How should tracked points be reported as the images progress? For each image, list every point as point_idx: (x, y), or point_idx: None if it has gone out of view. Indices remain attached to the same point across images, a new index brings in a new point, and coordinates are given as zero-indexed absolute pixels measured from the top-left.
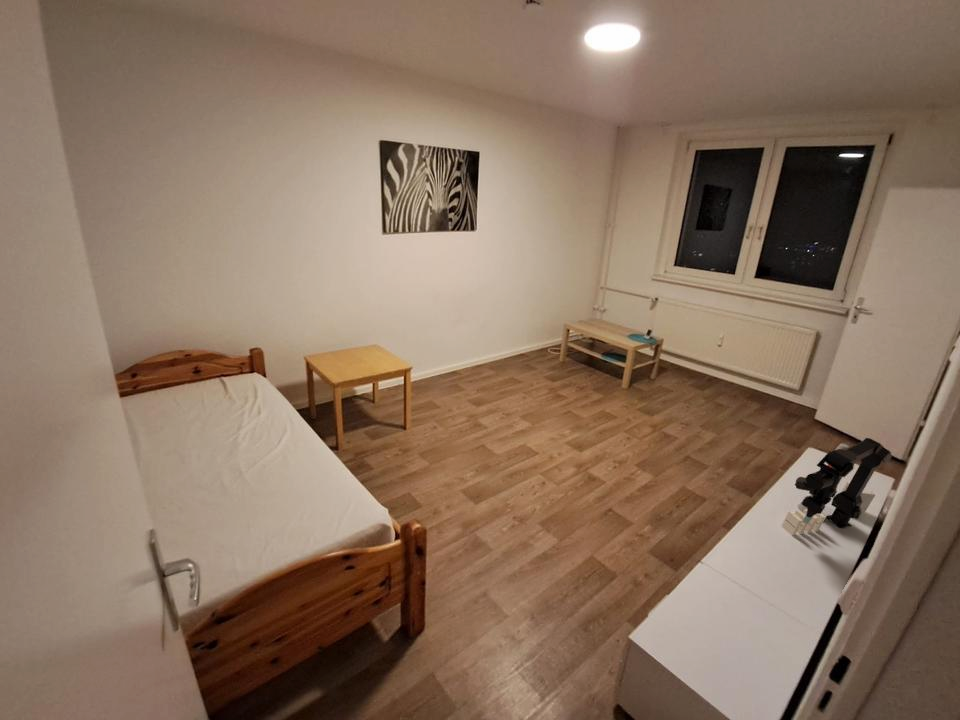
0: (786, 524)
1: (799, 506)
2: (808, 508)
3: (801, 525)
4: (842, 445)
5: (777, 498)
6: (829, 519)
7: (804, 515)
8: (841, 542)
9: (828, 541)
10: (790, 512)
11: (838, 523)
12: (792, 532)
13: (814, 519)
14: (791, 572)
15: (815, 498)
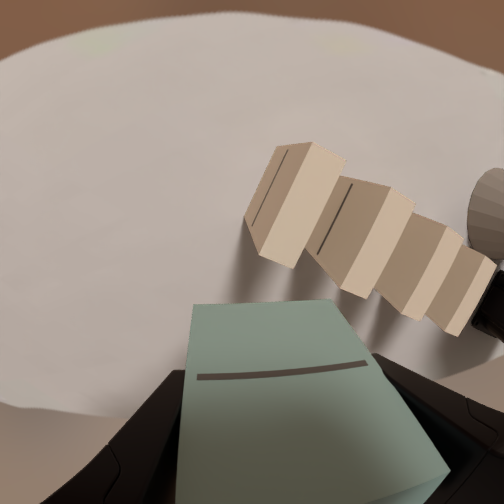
0: (273, 168)
1: (493, 175)
2: (85, 482)
3: (322, 245)
4: None
5: (474, 83)
6: (492, 284)
7: (377, 253)
8: (395, 362)
9: (363, 337)
10: (314, 157)
11: (485, 316)
12: (246, 217)
13: (395, 307)
14: (7, 305)
15: (491, 471)
